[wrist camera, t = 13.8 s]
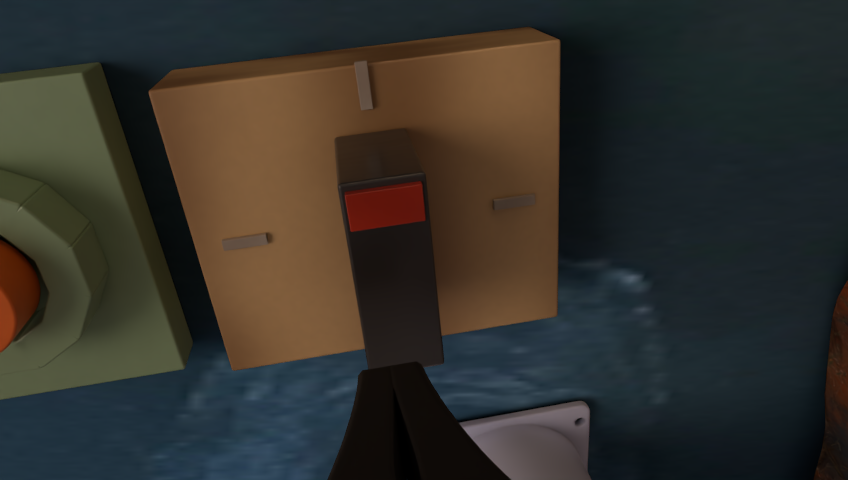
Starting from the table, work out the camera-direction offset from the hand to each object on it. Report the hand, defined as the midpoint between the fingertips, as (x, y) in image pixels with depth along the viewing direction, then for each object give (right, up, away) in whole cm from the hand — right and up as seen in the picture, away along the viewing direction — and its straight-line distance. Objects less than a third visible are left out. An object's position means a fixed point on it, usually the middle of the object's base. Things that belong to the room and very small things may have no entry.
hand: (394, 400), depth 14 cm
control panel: (-1, +6, +9) cm, 10 cm away
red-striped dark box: (-1, +4, +6) cm, 7 cm away
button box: (-13, +4, +8) cm, 16 cm away
